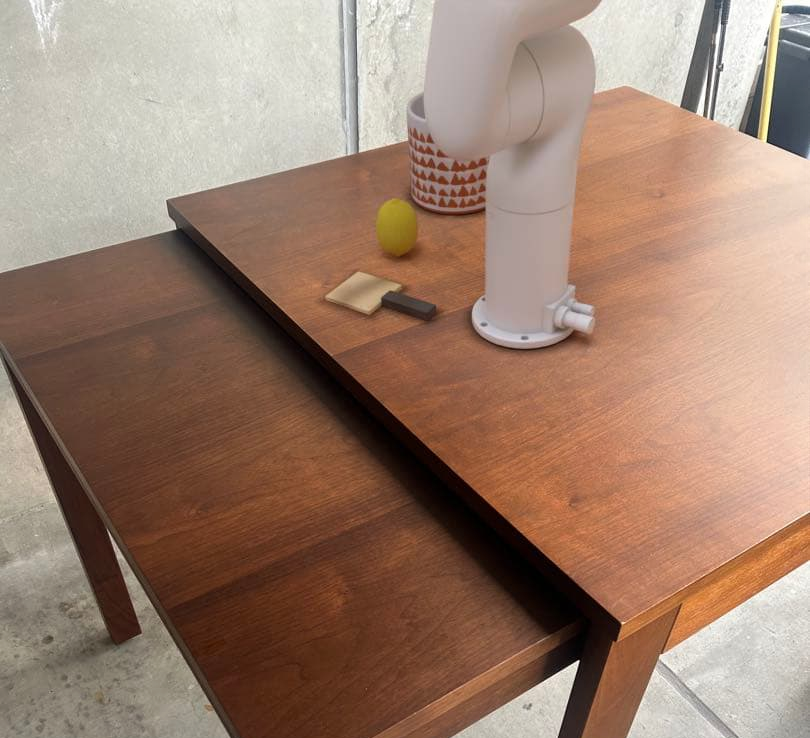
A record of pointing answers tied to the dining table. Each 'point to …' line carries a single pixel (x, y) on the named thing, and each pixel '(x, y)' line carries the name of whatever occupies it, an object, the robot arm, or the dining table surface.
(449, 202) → the planter
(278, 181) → the dining table surface
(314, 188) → the dining table surface
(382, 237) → the lemon
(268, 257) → the dining table surface
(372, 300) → the spatula
